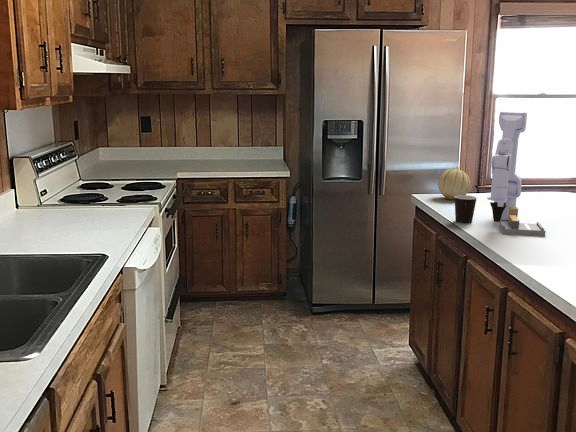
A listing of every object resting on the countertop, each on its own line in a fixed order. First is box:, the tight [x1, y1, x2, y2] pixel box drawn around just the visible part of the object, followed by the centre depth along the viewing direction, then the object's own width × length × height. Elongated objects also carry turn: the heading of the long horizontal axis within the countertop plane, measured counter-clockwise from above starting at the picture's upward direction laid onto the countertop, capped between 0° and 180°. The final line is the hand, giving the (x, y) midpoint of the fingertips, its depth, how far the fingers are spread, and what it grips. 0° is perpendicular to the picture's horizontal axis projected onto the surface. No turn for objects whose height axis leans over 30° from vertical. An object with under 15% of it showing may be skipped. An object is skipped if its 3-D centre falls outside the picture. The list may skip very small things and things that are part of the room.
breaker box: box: [498, 220, 547, 237], centre depth 242 cm, size 11×15×3 cm
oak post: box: [507, 206, 519, 223], centre depth 251 cm, size 3×3×7 cm
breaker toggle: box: [509, 215, 520, 228], centre depth 242 cm, size 9×2×3 cm, turn 169°
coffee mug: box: [453, 194, 477, 224], centre depth 255 cm, size 12×9×10 cm
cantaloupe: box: [437, 166, 471, 200], centre depth 302 cm, size 15×15×15 cm
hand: (496, 221), depth 243 cm, fingers closed
